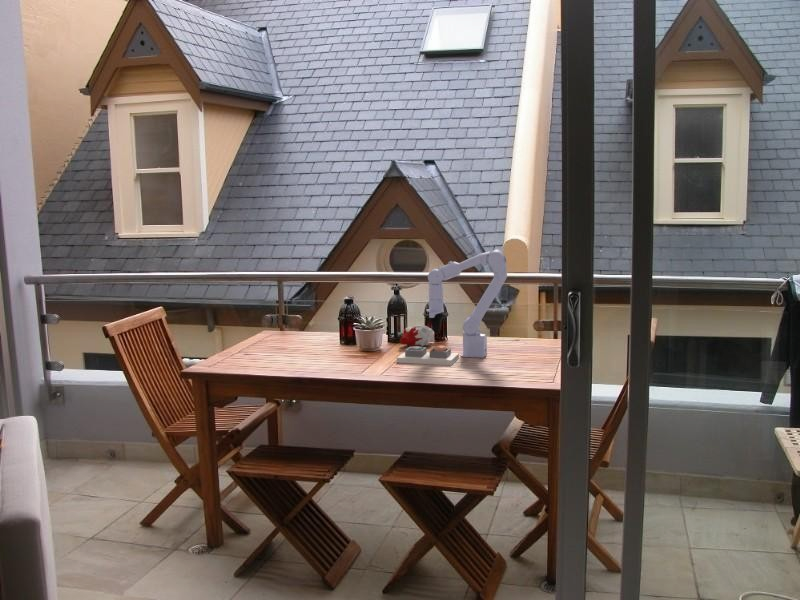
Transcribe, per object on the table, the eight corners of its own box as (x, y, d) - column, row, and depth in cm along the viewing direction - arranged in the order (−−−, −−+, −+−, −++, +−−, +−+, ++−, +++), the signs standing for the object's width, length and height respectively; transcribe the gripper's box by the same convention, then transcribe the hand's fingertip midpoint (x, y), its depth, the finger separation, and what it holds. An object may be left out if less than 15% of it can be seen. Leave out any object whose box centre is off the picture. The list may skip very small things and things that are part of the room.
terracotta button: (447, 352, 314) (447, 345, 314) (444, 354, 310) (444, 348, 310) (436, 351, 316) (436, 345, 315) (433, 354, 312) (432, 347, 311)
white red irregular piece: (435, 342, 344) (415, 353, 333) (414, 339, 351) (393, 350, 340) (433, 323, 342) (413, 333, 331) (412, 320, 349) (391, 330, 337)
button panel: (458, 358, 317) (458, 347, 317) (451, 365, 306) (451, 353, 305) (406, 355, 324) (405, 344, 323) (397, 362, 313) (396, 351, 312)
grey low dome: (423, 352, 318) (422, 346, 317) (419, 355, 313) (419, 349, 313) (412, 352, 319) (411, 346, 319) (408, 354, 315) (408, 348, 314)
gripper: (431, 296, 328) (432, 328, 331) (421, 301, 315) (422, 335, 317) (447, 296, 326) (448, 328, 328) (438, 302, 313) (439, 336, 315)
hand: (436, 332), depth 323 cm, fingers closed
